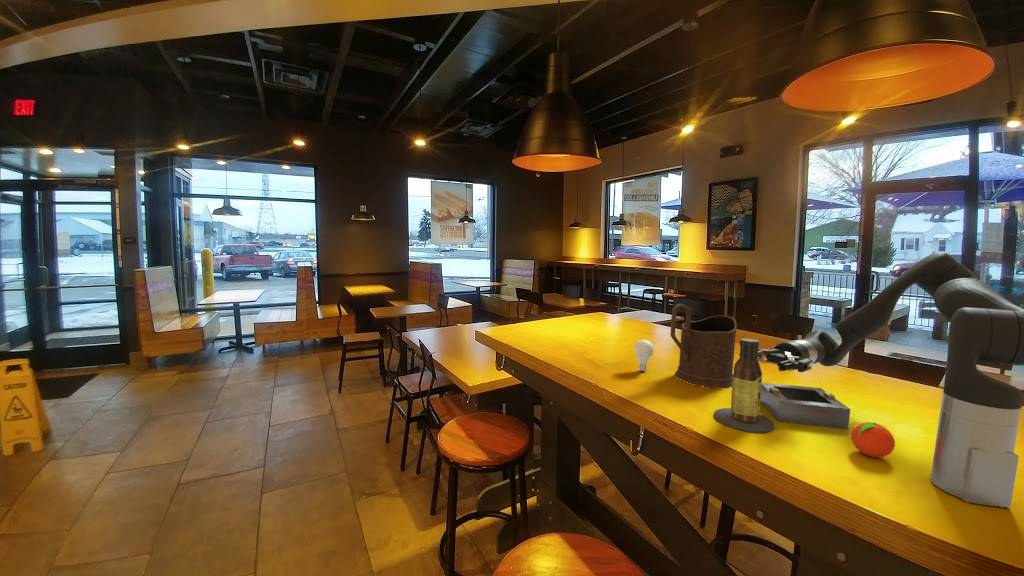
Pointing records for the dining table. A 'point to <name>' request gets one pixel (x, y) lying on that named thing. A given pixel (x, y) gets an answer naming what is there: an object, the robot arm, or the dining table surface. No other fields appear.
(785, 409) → the square ashtray
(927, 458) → the dining table surface
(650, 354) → the lightbulb
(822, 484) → the dining table surface
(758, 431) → the coaster
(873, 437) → the red tomato
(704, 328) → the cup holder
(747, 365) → the sauce bottle
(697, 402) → the dining table surface
